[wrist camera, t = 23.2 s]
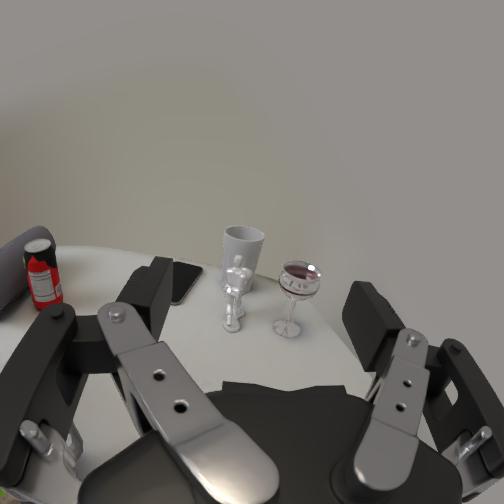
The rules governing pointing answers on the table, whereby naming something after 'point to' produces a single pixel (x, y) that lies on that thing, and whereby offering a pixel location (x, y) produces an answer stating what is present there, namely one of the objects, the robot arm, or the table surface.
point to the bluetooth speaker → (17, 264)
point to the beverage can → (42, 273)
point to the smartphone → (183, 280)
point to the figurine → (235, 293)
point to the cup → (242, 250)
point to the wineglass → (296, 291)
